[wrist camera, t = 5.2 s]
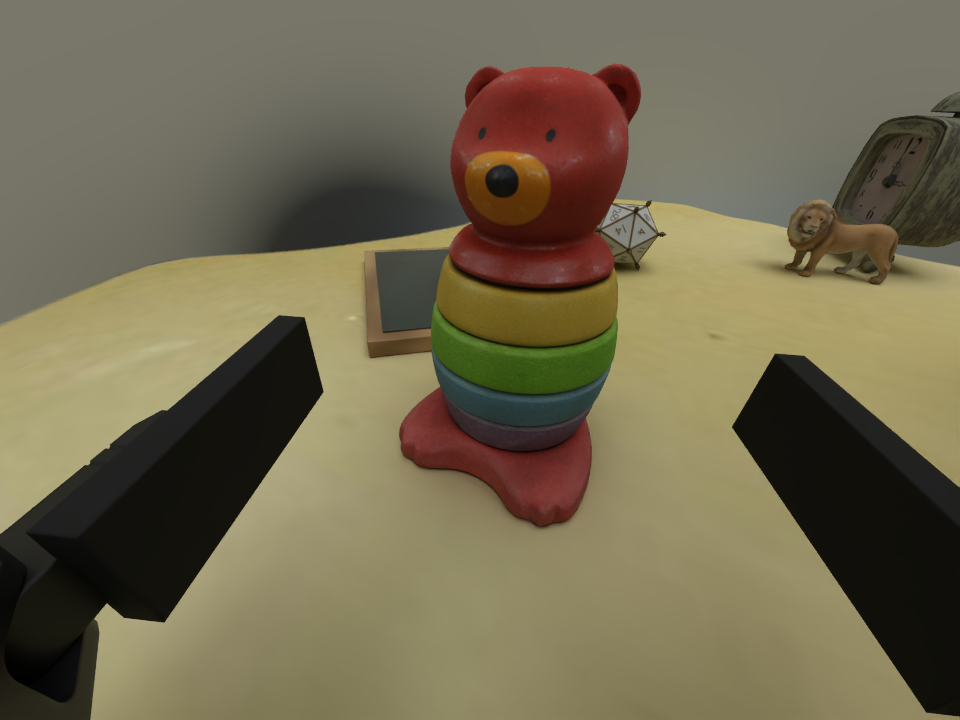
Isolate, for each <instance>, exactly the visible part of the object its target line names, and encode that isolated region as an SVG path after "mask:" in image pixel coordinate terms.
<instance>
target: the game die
mask: <svg viewBox="0 0 960 720" xmlns="http://www.w3.org/2000/svg"><path fill="white" fill-rule="evenodd" d="M650 204H651V200H650V201H648V202H647V203H646V205H631V204H617V203H612V205H611V207H610V209H609V210H608V212H607V214H606V215H605V217H604V218H603V220H602V221H601V222H600V224H599V225H598V226H597V227H596V228H595V229H594V232H596V233H598V234H599V235H600V236H602V237H603V238H604V240H605V241H606V242H607V243H608V245H609V247H610V249H611V251H612V254H613V256H614V260H615V263H624V264H635V267H636V269H638V270H639V268H640V266H639V264H638V262H639V261H640V259H641V258H642V257H643V255H644V254H645V253H646V251H647V250H648V249H649V247H650V246H651V245H652V243H653V242H654V241H655V239H656V238H657V237H658V236H660V237H661V236H662V237H663V236H665V235H667V234H665V233H664V232H661V233H658V231H657V228H656V226H655V224H654V221H653V219H652V217H651V214H650V212H649V210H648V206H650Z"/></svg>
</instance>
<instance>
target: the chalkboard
mask: <svg viewBox="0 0 960 720" xmlns="http://www.w3.org/2000/svg"><path fill="white" fill-rule="evenodd" d="M448 254H449V247H444V248H420V249H397V250H374V251H365V283H366V314H367V343H368V350H369V356H370V357H378V356H387V355H396V354H406V353H415V352H424V351H432V344H431V324H432V314H433V308H434V304H435V301H436V296H437V288H438V283H439V278H440V273H441V269H442V265H443V262H444V260H445V258H446V257H447V255H448Z"/></svg>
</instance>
